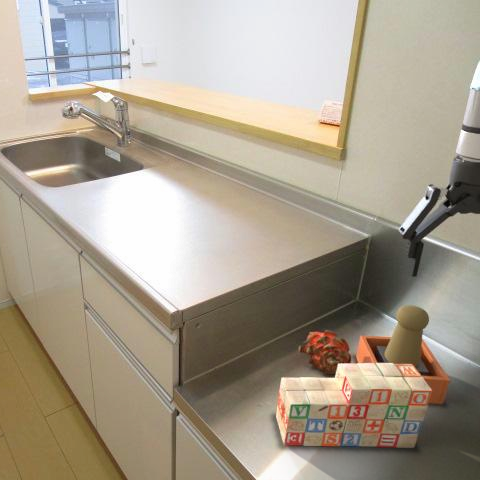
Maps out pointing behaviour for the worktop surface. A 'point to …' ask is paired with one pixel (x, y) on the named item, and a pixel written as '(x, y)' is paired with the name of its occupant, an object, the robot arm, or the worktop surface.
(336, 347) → the dragon fruit
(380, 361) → the grey block
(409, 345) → the cork
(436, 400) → the crate
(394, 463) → the worktop surface
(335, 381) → the stack of blocks
